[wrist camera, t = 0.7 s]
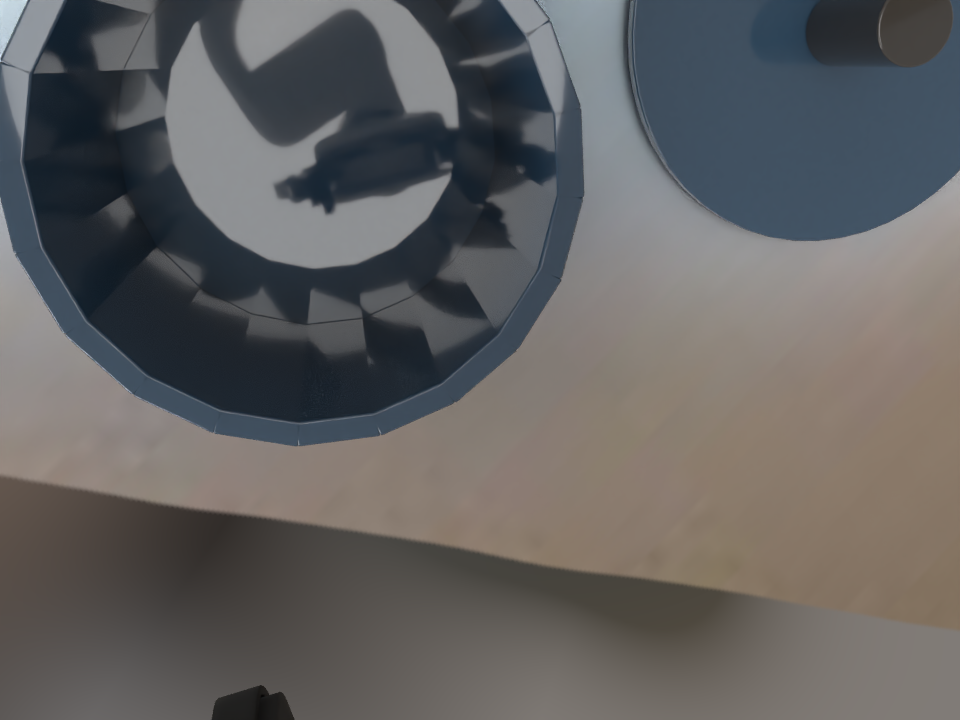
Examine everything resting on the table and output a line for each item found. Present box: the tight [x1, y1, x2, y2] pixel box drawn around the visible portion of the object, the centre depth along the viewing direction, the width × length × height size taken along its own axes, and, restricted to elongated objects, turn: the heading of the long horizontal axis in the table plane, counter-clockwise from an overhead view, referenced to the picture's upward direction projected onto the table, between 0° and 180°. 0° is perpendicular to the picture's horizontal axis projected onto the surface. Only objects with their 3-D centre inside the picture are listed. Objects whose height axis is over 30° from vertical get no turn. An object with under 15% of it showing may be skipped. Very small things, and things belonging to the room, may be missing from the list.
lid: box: [628, 0, 960, 241], centre depth 33 cm, size 17×17×6 cm
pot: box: [0, 0, 584, 446], centre depth 30 cm, size 16×16×11 cm
